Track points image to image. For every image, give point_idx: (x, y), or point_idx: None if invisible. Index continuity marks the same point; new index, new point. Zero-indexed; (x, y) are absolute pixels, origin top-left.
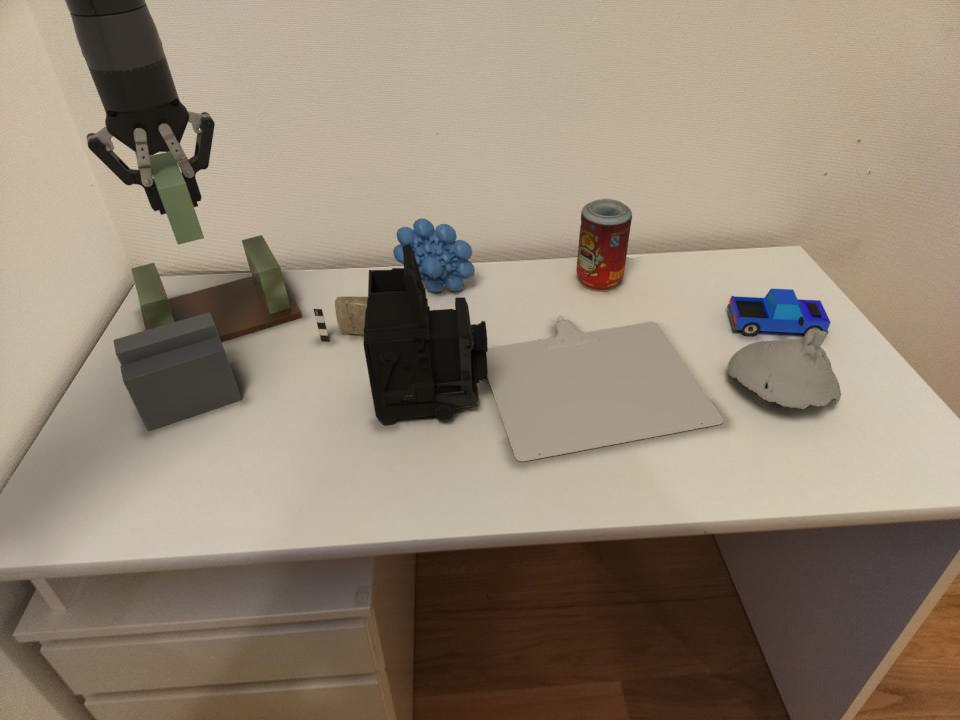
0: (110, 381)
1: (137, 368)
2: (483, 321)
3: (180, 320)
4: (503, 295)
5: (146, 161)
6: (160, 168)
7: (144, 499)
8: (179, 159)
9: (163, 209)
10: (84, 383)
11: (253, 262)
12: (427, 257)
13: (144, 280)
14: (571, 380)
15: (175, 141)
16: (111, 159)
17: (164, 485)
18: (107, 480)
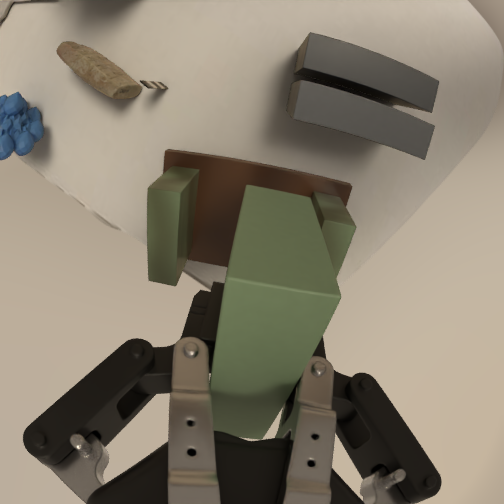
0: (396, 187)
1: (419, 89)
2: None
3: None
4: (5, 80)
5: (310, 422)
6: (259, 398)
7: (427, 9)
8: (197, 393)
9: None
10: (413, 203)
11: (178, 224)
12: (6, 110)
13: None
14: None
15: (176, 454)
16: (397, 445)
17: (409, 7)
18: (445, 54)
